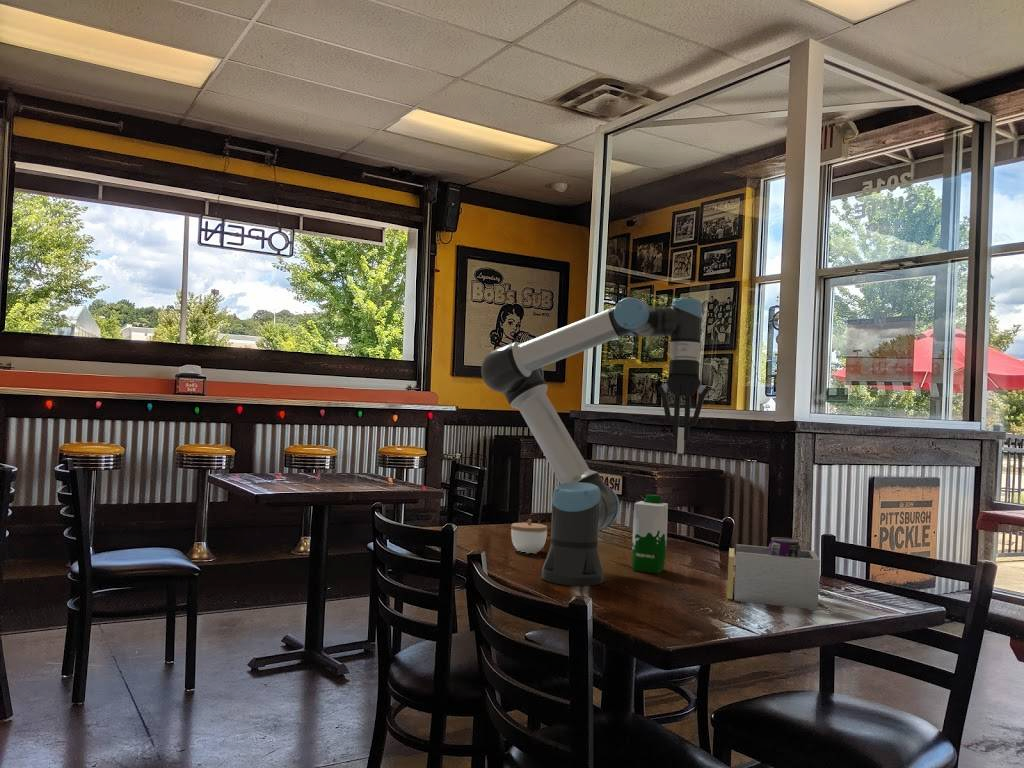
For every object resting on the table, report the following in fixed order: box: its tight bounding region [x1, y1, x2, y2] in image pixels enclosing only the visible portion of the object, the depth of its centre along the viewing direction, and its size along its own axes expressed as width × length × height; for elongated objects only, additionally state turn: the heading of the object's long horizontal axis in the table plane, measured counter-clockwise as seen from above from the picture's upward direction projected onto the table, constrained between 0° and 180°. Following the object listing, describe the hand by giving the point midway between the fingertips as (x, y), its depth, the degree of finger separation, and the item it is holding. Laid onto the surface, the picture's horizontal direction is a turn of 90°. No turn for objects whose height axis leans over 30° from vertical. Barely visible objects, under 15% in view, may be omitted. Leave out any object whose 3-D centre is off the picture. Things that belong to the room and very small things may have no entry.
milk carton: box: [631, 493, 669, 574], centre depth 218 cm, size 9×9×20 cm
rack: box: [726, 547, 735, 600], centre depth 190 cm, size 18×14×10 cm
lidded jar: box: [510, 518, 548, 554], centre depth 238 cm, size 11×11×9 cm
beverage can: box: [768, 536, 802, 558], centre depth 189 cm, size 7×7×12 cm
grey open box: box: [733, 543, 821, 611], centre depth 190 cm, size 18×14×11 cm
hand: (680, 453), depth 204 cm, fingers closed
